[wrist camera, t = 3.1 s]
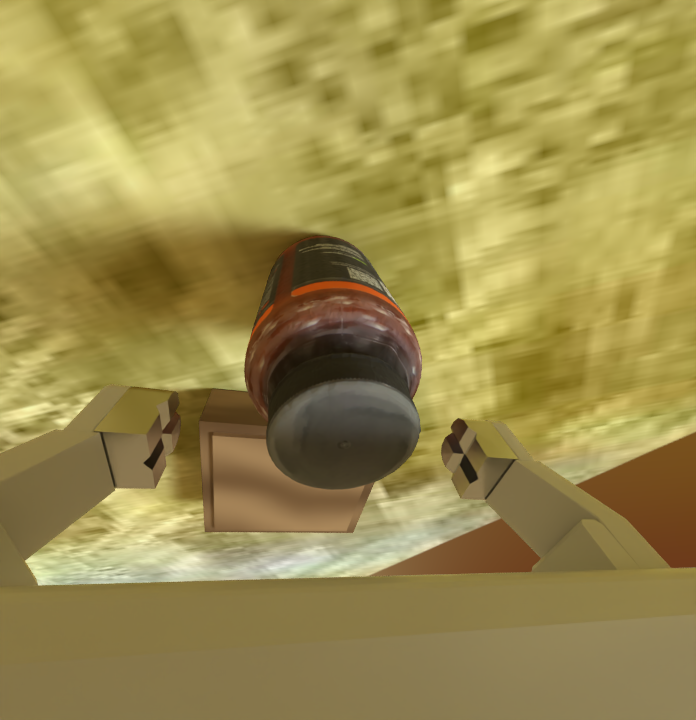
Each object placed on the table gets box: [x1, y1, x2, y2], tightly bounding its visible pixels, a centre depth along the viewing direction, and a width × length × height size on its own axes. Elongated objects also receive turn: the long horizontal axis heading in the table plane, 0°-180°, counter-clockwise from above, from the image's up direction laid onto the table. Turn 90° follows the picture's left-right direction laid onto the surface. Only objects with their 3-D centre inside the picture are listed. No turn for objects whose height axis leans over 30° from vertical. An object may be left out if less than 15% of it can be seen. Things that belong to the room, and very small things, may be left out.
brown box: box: [199, 389, 374, 533], centre depth 23 cm, size 12×12×3 cm
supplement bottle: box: [244, 236, 422, 490], centre depth 12 cm, size 6×6×11 cm
